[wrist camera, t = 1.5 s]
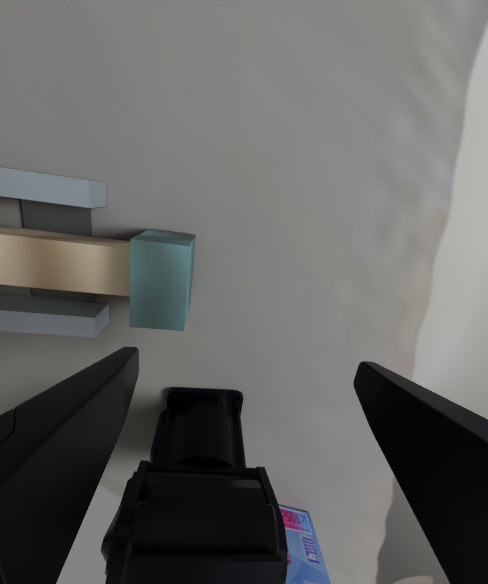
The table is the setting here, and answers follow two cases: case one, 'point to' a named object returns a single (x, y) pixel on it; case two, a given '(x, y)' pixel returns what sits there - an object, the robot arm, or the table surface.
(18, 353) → the table surface
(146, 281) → the push rod
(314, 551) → the ink cartridge box
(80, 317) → the channel
